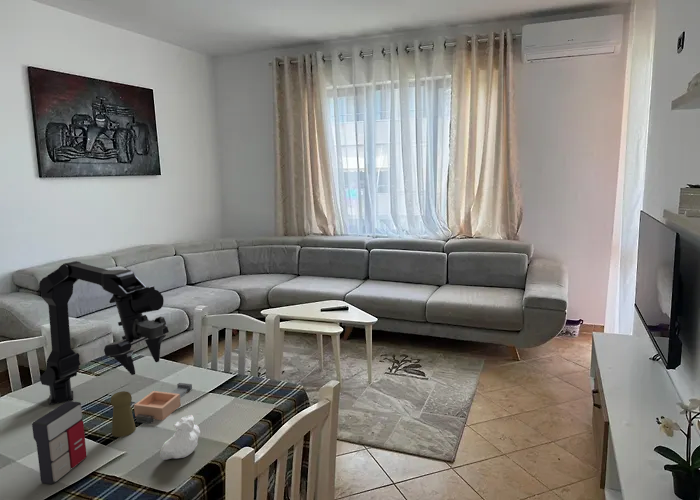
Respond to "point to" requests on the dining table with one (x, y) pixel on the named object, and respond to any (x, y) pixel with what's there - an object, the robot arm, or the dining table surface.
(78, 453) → the calculator
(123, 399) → the cork
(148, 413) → the tray
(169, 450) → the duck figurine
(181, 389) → the rail
